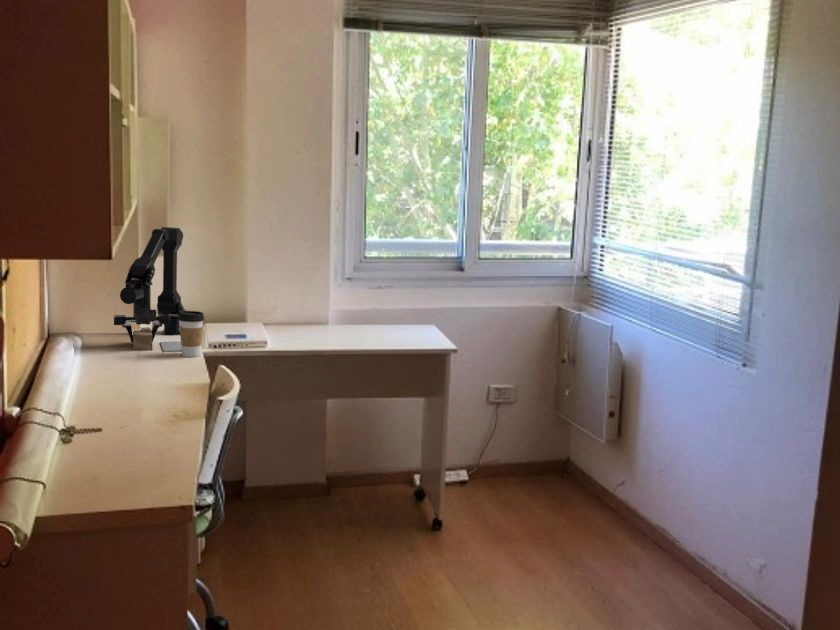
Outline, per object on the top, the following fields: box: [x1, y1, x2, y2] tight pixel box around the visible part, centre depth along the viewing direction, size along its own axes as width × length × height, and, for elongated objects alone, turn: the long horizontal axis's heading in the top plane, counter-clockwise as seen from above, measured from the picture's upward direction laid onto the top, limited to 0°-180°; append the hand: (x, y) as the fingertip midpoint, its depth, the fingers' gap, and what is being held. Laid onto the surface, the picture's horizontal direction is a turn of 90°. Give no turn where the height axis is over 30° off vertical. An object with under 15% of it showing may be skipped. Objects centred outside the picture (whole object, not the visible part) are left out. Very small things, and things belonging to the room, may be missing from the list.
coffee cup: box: [178, 310, 205, 358], centre depth 305 cm, size 8×8×15 cm
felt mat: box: [159, 340, 182, 353], centre depth 317 cm, size 14×9×1 cm, turn 20°
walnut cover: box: [132, 326, 153, 352], centre depth 315 cm, size 12×6×6 cm, turn 21°
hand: (142, 343), depth 315 cm, fingers closed on walnut cover, 6 cm apart
